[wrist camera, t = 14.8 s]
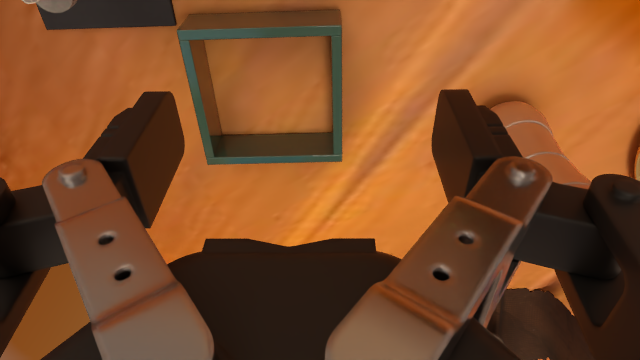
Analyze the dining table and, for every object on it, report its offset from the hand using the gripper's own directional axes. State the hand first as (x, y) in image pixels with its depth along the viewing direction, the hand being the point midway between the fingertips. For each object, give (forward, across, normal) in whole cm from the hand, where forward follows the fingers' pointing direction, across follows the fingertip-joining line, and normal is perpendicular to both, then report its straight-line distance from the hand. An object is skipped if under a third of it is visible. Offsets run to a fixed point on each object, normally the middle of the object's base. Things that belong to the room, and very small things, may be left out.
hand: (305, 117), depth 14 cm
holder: (+26, +4, +11) cm, 28 cm away
